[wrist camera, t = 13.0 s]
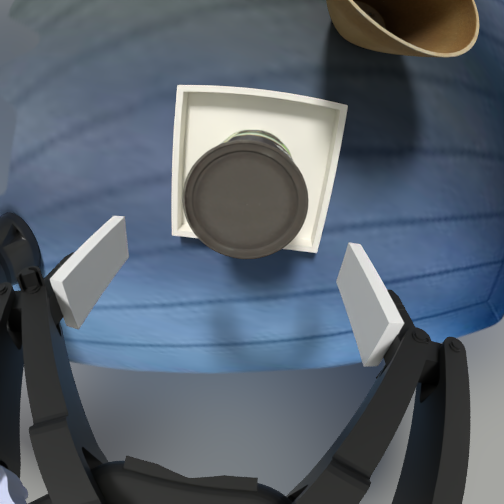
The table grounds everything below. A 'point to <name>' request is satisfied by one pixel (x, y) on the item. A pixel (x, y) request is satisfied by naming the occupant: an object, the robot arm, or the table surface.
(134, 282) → the table surface
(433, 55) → the plant pot
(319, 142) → the tray
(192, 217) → the coffee can
